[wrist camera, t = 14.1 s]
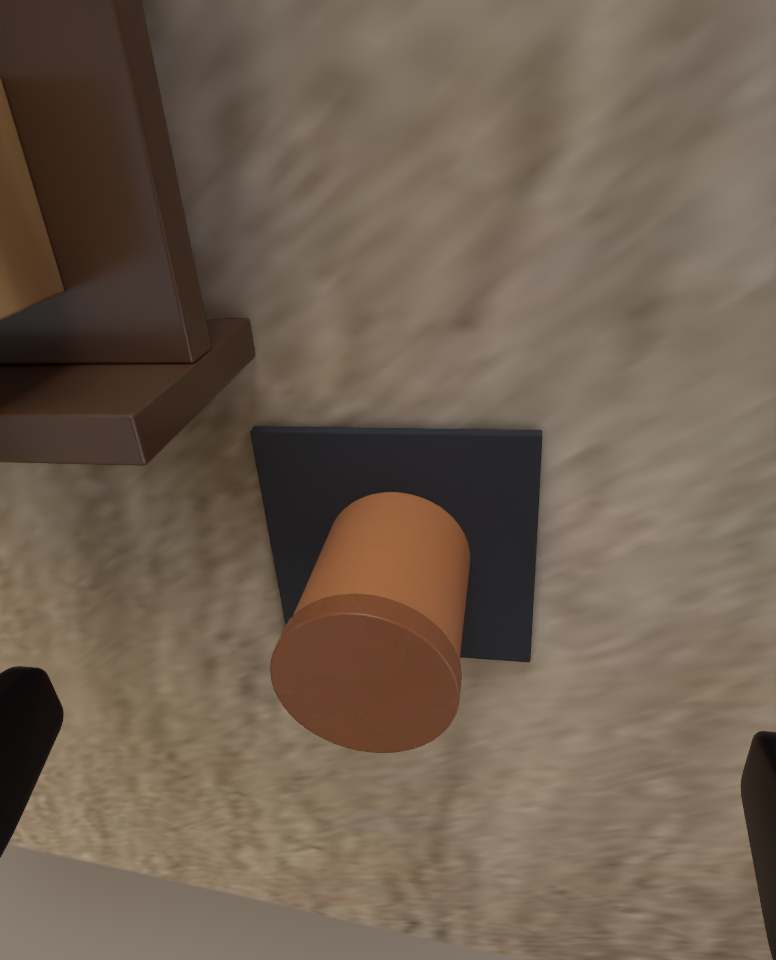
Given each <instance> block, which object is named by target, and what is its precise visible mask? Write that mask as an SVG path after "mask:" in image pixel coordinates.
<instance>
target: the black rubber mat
mask: <svg viewBox="0 0 776 960" xmlns="http://www.w3.org/2000/svg"><path fill="white" fill-rule="evenodd" d="M250 433H251V439H252V444H253V449H254V455H255V460H256V466H257V471H258V477H259V482H260V488H261V493H262V498H263V504H264V509H265V515H266V520H267V526H268V531H269V537H270V542H271V547H272V553H273V558H274V564H275V569H276V575H277V580H278V586H279V591H280V596H281V602H282V607H283V613H284V618H285V624H287V622H288V621H289V620H290V618H291V617H292V616H293V615H294V613H295V610H296V608H297V606H298V603H299V601H300V599H301V597H302V594H303V592H304V590H305V587H306V585H307V583H308V580H309V578H310V576H311V573H312V571H313V569H314V567H315V564H316V562H317V560H318V557H319V555H320V553H321V550H322V548H323V546H324V544H325V541H326V539H327V537H328V534H329V532H330V530H331V527H332V525H333V523H334V521H335V520H336V518H337V517H338V515H339V514H340V513H341V512H342V511H343V510H344V509H345V508H346V507H347V506H349V505H350V504H351V503H353V502H355V501H357V500H358V499H361V498H363V497H366V496H369V495H372V494H377V493H383V492H399V493H407V494H412V495H415V496H419V497H422V498H424V499H426V500H429V501H431V502H433V503H434V504H436V505H438V506H440V507H441V508H442V509H444V510H445V511H446V512H447V513H448V514H450V515H451V516H452V517H453V518H454V520H455V521H456V522H457V523H458V525H459V526H460V527H461V529H462V531H463V532H464V534H465V537H466V539H467V541H468V545H469V549H470V568H469V577H468V587H467V596H466V606H465V615H464V625H463V634H462V644H461V653H460V657H464V658H478V659H491V660H505V661H518V662H530V658H531V639H532V620H533V601H534V583H535V564H536V545H537V526H538V508H539V489H540V470H541V451H542V431H541V430H481V429H405V428H328V427H253V429H252V430H251V431H250Z"/></svg>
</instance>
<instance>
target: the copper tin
mask: <svg viewBox="0 0 776 960" xmlns="http://www.w3.org/2000/svg"><path fill="white" fill-rule="evenodd" d="M469 568H470V549H469V545H468V541H467V539H466V537H465V534H464V532H463V531H462V529H461V527H460V526H459V525H458V523H457V522H456V521H455V520H454V518H453V517H452V516H451V515H450V514H448V513H447V512H446V511H445V510H444V509H442V508H441V507H440V506H438V505H436V504H434V503H433V502H431V501H429V500H426V499H424V498H422V497H419V496H415V495H412V494H407V493H399V492H383V493H377V494H372V495H369V496H366V497H363V498H361V499H358V500H357V501H355V502H353V503H351V504H350V505H349V506H347V507H346V508H345V509H344V510H343V511H342V512H341V513H340V514H339V515H338V517H337V518H336V520H335V521H334V523H333V525H332V527H331V530H330V532H329V534H328V537H327V539H326V541H325V544H324V546H323V548H322V550H321V553H320V555H319V557H318V560H317V562H316V564H315V567H314V569H313V571H312V573H311V576H310V578H309V580H308V583H307V585H306V587H305V590H304V592H303V594H302V597H301V599H300V601H299V603H298V606H297V608H296V610H295V613H294V615H293V616H292V617H291V618H290V620H289V621H288V622H287V624H286V625H285V627H284V629H283V631H282V633H281V636H280V638H279V640H278V642H277V645H276V647H275V649H274V651H273V654H272V658H271V666H270V672H271V680H272V684H273V687H274V690H275V692H276V694H277V697H278V698H279V700H280V702H281V703H282V705H283V706H284V708H285V709H286V710H287V711H288V712H289V714H290V715H291V716H292V717H293V718H294V719H295V720H296V721H298V722H299V723H300V724H301V725H303V726H304V727H305V728H306V729H308V730H309V731H311V732H313V733H314V734H316V735H318V736H319V737H321V738H323V739H325V740H327V741H330V742H332V743H334V744H337V745H340V746H343V747H346V748H350V749H354V750H358V751H365V752H375V753H393V752H401V751H406V750H410V749H414V748H417V747H420V746H423V745H425V744H427V743H429V742H431V741H433V740H434V739H435V738H437V737H438V736H440V735H441V734H442V733H443V732H444V731H445V730H446V729H447V728H448V726H449V725H450V724H451V722H452V721H453V719H454V717H455V715H456V713H457V710H458V706H459V700H460V690H461V679H462V672H461V665H460V653H461V644H462V634H463V625H464V615H465V606H466V596H467V587H468V577H469Z"/></svg>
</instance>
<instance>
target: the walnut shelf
mask: <svg viewBox="0 0 776 960" xmlns="http://www.w3.org/2000/svg"><path fill="white" fill-rule="evenodd" d="M0 78H1V80H2V83H3V86H4V89H5V93H6V96H7V99H8V103H9V106H10V109H11V113H12V116H13V119H14V123H15V126H16V129H17V133H18V136H19V139H20V143H21V146H22V149H23V153H24V156H25V159H26V163H27V166H28V169H29V173H30V176H31V180H32V183H33V186H34V190H35V193H36V196H37V200H38V203H39V206H40V210H41V213H42V216H43V220H44V223H45V226H46V230H47V233H48V236H49V240H50V243H51V246H52V250H53V253H54V256H55V260H56V263H57V266H58V270H59V273H60V276H61V280H62V283H63V286H64V292H63V293H61V294H59V295H57V296H55V297H52V298H50V299H48V300H45V301H43V302H41V303H39V304H36V305H34V306H32V307H29V308H27V309H25V310H22V311H20V312H18V313H16V314H13V315H11V316H9V317H6V318H4V319H2V320H0V462H16V463H56V464H96V465H136V466H143V465H146V464H148V463H149V462H150V461H151V460H152V459H153V458H154V457H155V456H156V455H157V454H158V453H159V452H160V451H161V450H162V449H163V448H164V447H165V446H166V445H167V444H168V443H169V442H170V441H171V440H172V439H173V438H174V437H175V436H176V435H177V434H178V433H179V432H180V431H181V430H182V429H183V428H184V427H185V426H186V425H187V424H188V423H189V422H190V421H191V420H192V419H193V418H194V417H195V416H196V415H197V414H198V413H199V412H200V411H201V410H202V409H203V408H204V407H205V406H206V405H207V404H208V403H209V402H210V401H211V400H212V399H213V398H214V397H215V396H216V395H217V394H218V393H219V392H220V391H221V390H222V389H223V388H224V387H225V386H226V385H227V384H228V383H229V382H230V381H231V380H232V379H233V378H234V377H235V376H236V375H237V374H238V373H239V372H240V371H241V370H242V369H243V368H244V367H245V366H246V365H247V364H248V363H249V362H250V361H251V360H252V359H253V358H254V357H255V349H254V343H253V337H252V331H251V325H250V321H249V319H206V318H205V313H204V308H203V303H202V299H201V294H200V289H199V284H198V279H197V274H196V269H195V264H194V259H193V254H192V249H191V244H190V239H189V234H188V229H187V224H186V219H185V214H184V209H183V204H182V199H181V194H180V189H179V184H178V179H177V174H176V169H175V165H174V160H173V155H172V150H171V145H170V140H169V135H168V130H167V125H166V120H165V115H164V110H163V105H162V100H161V95H160V90H159V85H158V80H157V75H156V70H155V65H154V60H153V55H152V50H151V45H150V40H149V36H148V31H147V26H146V21H145V16H144V11H143V6H142V1H141V0H0Z"/></svg>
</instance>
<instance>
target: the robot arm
mask: <svg viewBox="0 0 776 960" xmlns="http://www.w3.org/2000/svg"><path fill="white" fill-rule="evenodd" d="M63 715H64V713H63V707H62V705H61V703H60V700H59V698H58V696H57V694H56V692H55V690H54V687H53V685H52V683H51V681H50V679H49V676H48V675H47V673H46V672H45V671H44V670H42V669H40V668H33V667H22V666H17V667H12V668H9V669H7V670H5V671H4V672H2V673H0V857H1V855H2V854H3V852H4V850H5V848H6V846H7V844H8V842H9V841H10V839H11V837H12V835H13V833H14V831H15V829H16V826H17V824H18V822H19V820H20V818H21V816H22V814H23V811H24V809H25V807H26V805H27V803H28V800H29V798H30V796H31V794H32V791H33V789H34V787H35V785H36V782H37V780H38V778H39V776H40V773H41V771H42V769H43V767H44V765H45V762H46V760H47V758H48V756H49V753H50V751H51V749H52V747H53V744H54V742H55V740H56V738H57V736H58V733H59V731H60V729H61V726H62V722H63ZM741 797H742V803H743V808H744V814H745V819H746V825H747V830H748V836H749V841H750V847H751V852H752V858H753V863H754V869H755V874H756V880H757V885H758V891H759V896H760V902H761V907H762V913H763V918H764V923H765V928H766V933H767V938H768V943H769V947H770V951H771V955H772V958H773V960H776V732H767V731H760V732H758V733H756V734H755V735H754V737H753V739H752V743H751V746H750V749H749V753H748V756H747V760H746V763H745V767H744V770H743V774H742V778H741Z"/></svg>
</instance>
